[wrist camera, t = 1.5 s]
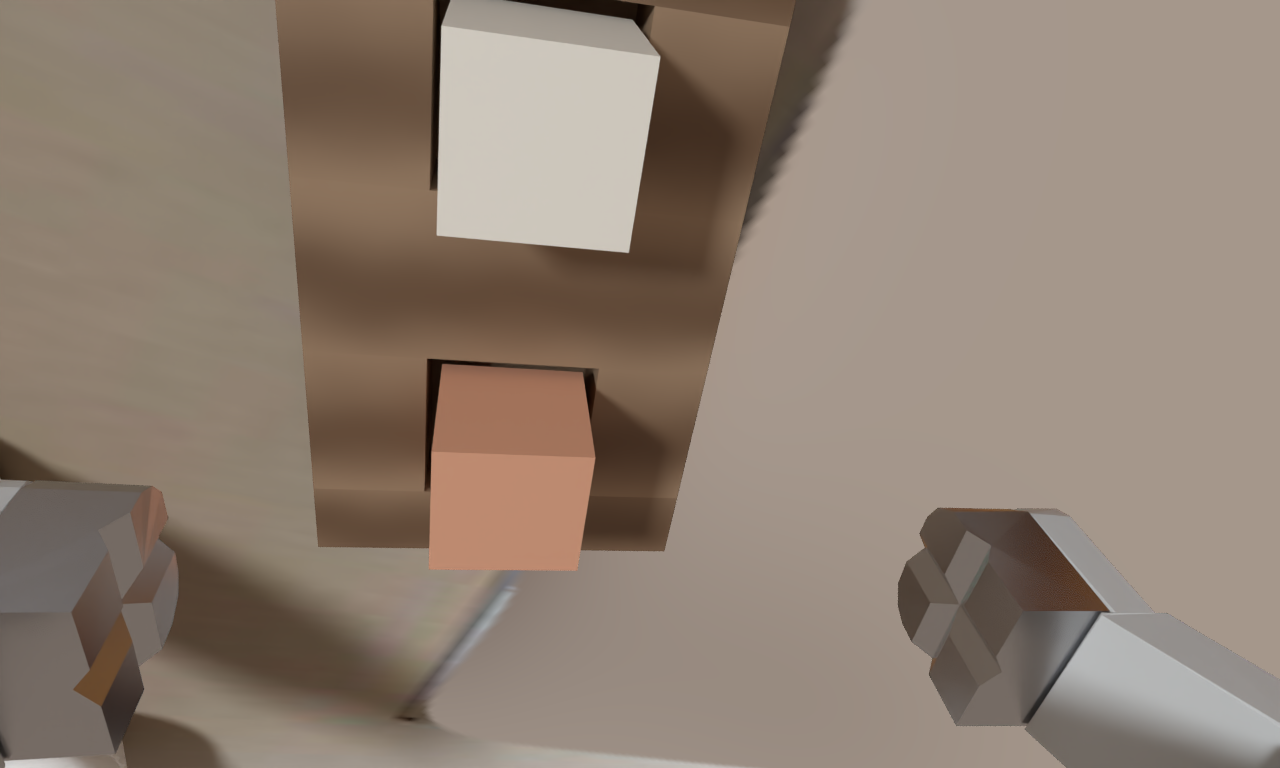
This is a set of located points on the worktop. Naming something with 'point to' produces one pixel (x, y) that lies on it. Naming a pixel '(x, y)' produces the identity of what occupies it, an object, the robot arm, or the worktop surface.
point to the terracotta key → (509, 469)
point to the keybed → (508, 260)
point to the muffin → (74, 761)
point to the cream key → (542, 124)
